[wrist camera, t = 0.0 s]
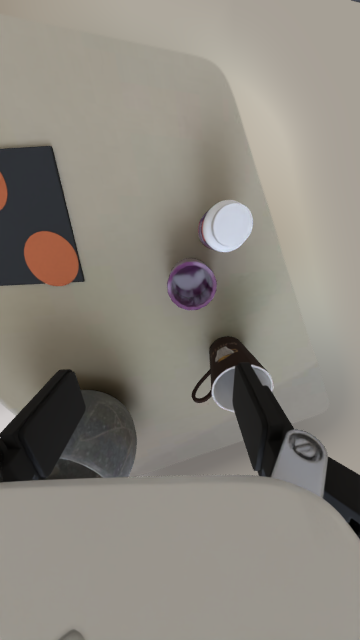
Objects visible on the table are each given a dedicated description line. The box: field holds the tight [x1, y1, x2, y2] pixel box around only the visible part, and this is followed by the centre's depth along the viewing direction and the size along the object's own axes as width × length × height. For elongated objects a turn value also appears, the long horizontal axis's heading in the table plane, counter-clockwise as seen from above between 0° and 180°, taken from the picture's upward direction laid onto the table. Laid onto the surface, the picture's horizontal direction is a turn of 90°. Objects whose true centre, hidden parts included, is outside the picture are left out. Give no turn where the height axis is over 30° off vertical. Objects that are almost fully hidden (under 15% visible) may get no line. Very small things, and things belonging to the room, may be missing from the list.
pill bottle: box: [198, 200, 253, 252], centre depth 23 cm, size 5×5×10 cm
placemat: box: [0, 146, 84, 286], centre depth 27 cm, size 18×14×1 cm
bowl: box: [45, 390, 137, 480], centre depth 34 cm, size 20×20×15 cm
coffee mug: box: [192, 336, 274, 412], centre depth 31 cm, size 12×9×10 cm
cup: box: [167, 258, 217, 310], centre depth 28 cm, size 7×7×6 cm
